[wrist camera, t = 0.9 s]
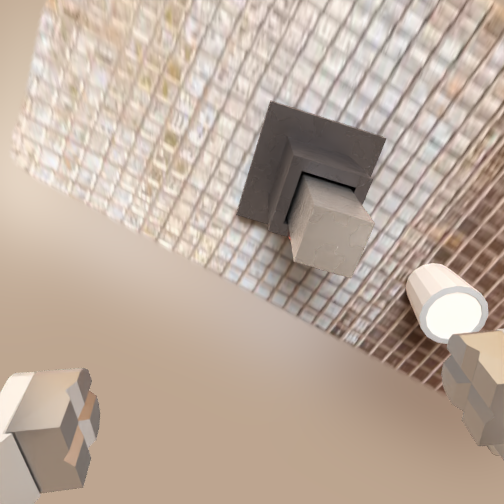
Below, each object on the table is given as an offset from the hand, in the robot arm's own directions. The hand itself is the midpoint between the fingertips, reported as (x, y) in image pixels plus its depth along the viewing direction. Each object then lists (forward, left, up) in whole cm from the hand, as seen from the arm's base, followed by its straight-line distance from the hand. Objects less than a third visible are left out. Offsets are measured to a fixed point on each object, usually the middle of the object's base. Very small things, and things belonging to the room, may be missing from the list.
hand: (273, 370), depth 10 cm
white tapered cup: (-23, +10, -38) cm, 46 cm away
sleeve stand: (-5, +2, -38) cm, 38 cm away
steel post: (-5, +2, -36) cm, 36 cm away
